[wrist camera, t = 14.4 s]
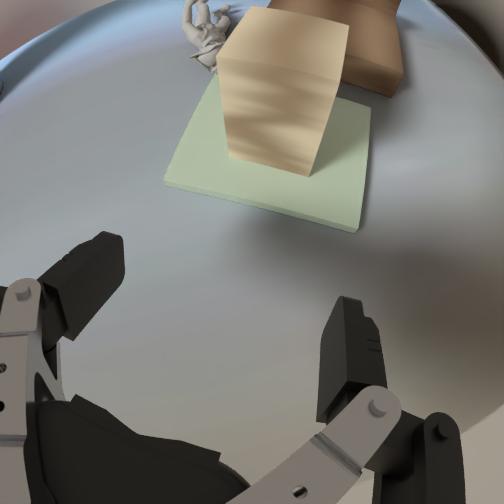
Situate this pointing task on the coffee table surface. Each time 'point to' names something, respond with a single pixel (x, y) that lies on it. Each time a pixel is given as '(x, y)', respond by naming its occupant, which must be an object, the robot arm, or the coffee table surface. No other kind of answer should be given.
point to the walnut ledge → (361, 38)
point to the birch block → (279, 86)
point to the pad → (272, 179)
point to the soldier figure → (205, 32)
